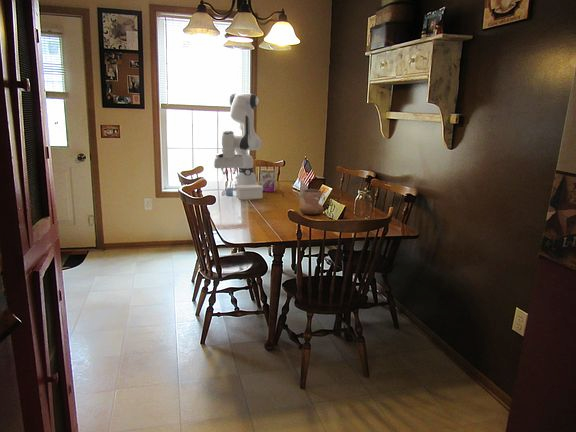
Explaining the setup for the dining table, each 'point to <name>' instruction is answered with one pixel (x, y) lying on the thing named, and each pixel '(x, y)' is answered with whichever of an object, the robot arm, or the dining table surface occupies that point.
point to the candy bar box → (267, 180)
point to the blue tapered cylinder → (229, 191)
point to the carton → (249, 194)
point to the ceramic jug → (311, 202)
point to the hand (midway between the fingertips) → (228, 174)
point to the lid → (249, 187)
